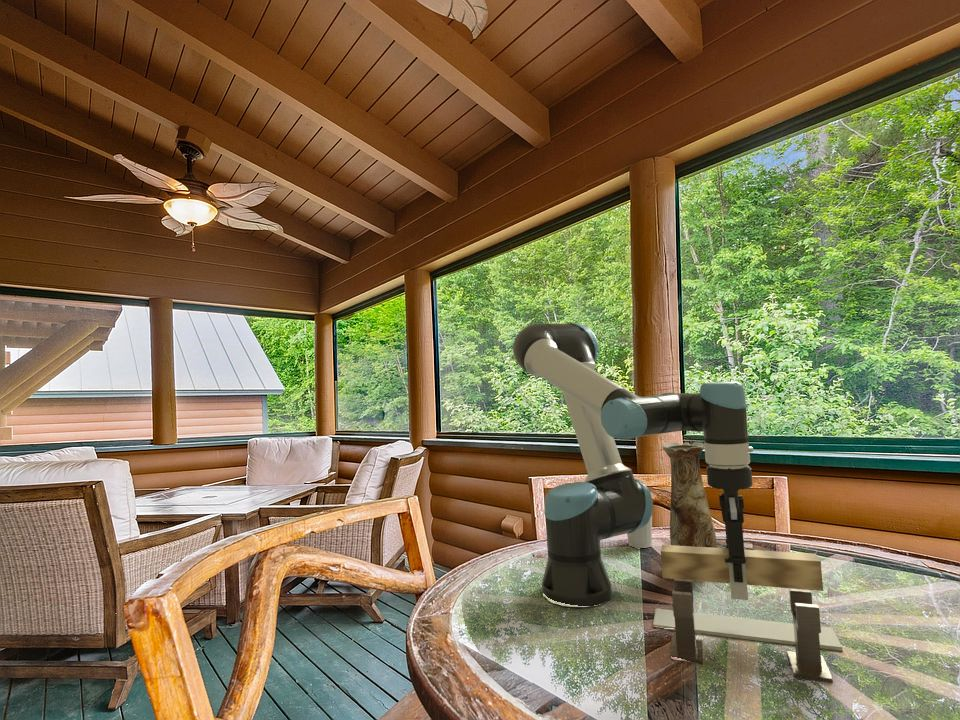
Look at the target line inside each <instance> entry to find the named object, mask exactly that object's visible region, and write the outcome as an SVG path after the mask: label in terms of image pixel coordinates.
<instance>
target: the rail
mask: <svg viewBox="0 0 960 720" xmlns="http://www.w3.org/2000/svg"><path fill="white" fill-rule="evenodd" d="M744 553H745V559H746V563H745V566H746V579H747V586H754V587H755V586H757V587H767V588H768V587H769V588H781V589H789V588H793V589H805V590H810V591H817V592H818V591H819V592H824V584H823V572H822V571H823V570H822V562H821V560H820V558H819V556H818V555H817V553H811V552H796V551H794V552H792V551H777V550H776V551H775V550H774V551H773V550H761V549H758V550H744ZM728 558H729V551H728V549H727V548H719V547H717V548H710V547H693V546H676V545H671V544H661V548H660V560H661V564H660V565H661V575H662V579H672V580H674V578H678V579H690V580H692V581H695V582H706V583H707V582H709V583H720V584H729V583H730V576H729V563H725V559H728Z"/></svg>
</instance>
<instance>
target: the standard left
mask: <svg viewBox="0 0 960 720" xmlns="http://www.w3.org/2000/svg"><path fill="white" fill-rule="evenodd" d="M671 597H672V599H671V600H672V610H673V614H674V617H675V630H674V631H675V636H672V635H671V643H670V653H669V657H670V656H672V657H677V658H681V659H685V660H687V661H690V662H689V663H691V662H692V664H693V663H694V664H699V665H703V664H704V661H703V660H704V657H703V655H704V653H703V652H704V651H703V640H702V639H696V638H697V637H696V633H695V623H694V613H695V612H694V611H695V610H694V594H693V580H690V579H678V578H674V579H673V590H672V592H671Z"/></svg>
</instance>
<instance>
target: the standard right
mask: <svg viewBox="0 0 960 720" xmlns="http://www.w3.org/2000/svg"><path fill="white" fill-rule="evenodd" d="M788 593H789V604H790V612H791V615H792V622H793V624H794V637H795V645H794V649H795V651H790V650H789V651H788V650H787V651H786V654H787V658H788V661H789V664H790V667H791V670H792V674H793V677H794V678H795V679H803V680H811V681H818V682H825V683H831V684H833V683H834V682H833V677H832V675H831V672H830V670H829V667H828V665H827V663H826V661H825V658H824V656H823V654H822V653H821V648H820V640H819V633H821V627H822V626H821V616H820V615H821V614H820V606H819V605H818V604H813V597H812V590H805V589H793V588H788ZM821 654H822V655H821Z"/></svg>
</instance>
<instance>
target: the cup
mask: <svg viewBox="0 0 960 720" xmlns="http://www.w3.org/2000/svg"><path fill="white" fill-rule="evenodd" d="M626 535H627V544H628V543H629V545H631V546H632V547H635V548H647V547H650V546H652V547H653V514H652V515H651V517H650V520H649V522H648V523H647V525H646V526H644V527H643V528H641V529H638V530H636V531H634V532H632V533H628V534H626ZM629 545H628V546H629ZM632 547H631V548H632ZM635 548H634V549H635Z"/></svg>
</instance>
